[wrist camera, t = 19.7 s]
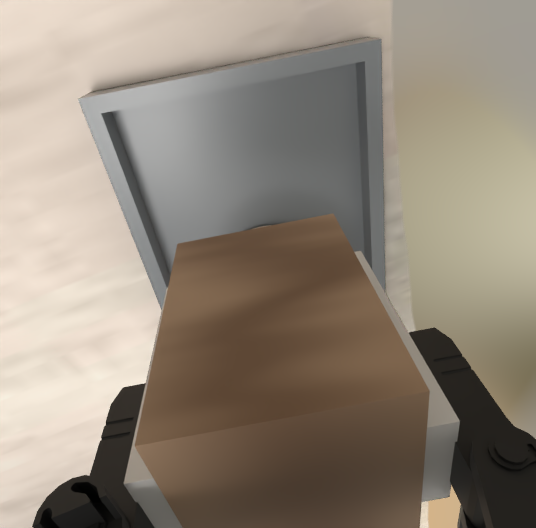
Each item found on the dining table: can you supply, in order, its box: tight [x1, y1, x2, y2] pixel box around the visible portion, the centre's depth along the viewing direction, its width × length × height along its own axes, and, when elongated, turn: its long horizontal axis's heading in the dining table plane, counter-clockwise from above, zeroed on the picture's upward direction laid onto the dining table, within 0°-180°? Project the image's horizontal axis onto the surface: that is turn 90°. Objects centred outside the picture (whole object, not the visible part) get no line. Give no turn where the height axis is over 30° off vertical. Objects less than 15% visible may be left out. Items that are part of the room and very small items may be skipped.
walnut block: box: [135, 214, 430, 528], centre depth 11 cm, size 5×5×7 cm
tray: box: [78, 37, 385, 309], centre depth 31 cm, size 24×18×3 cm
